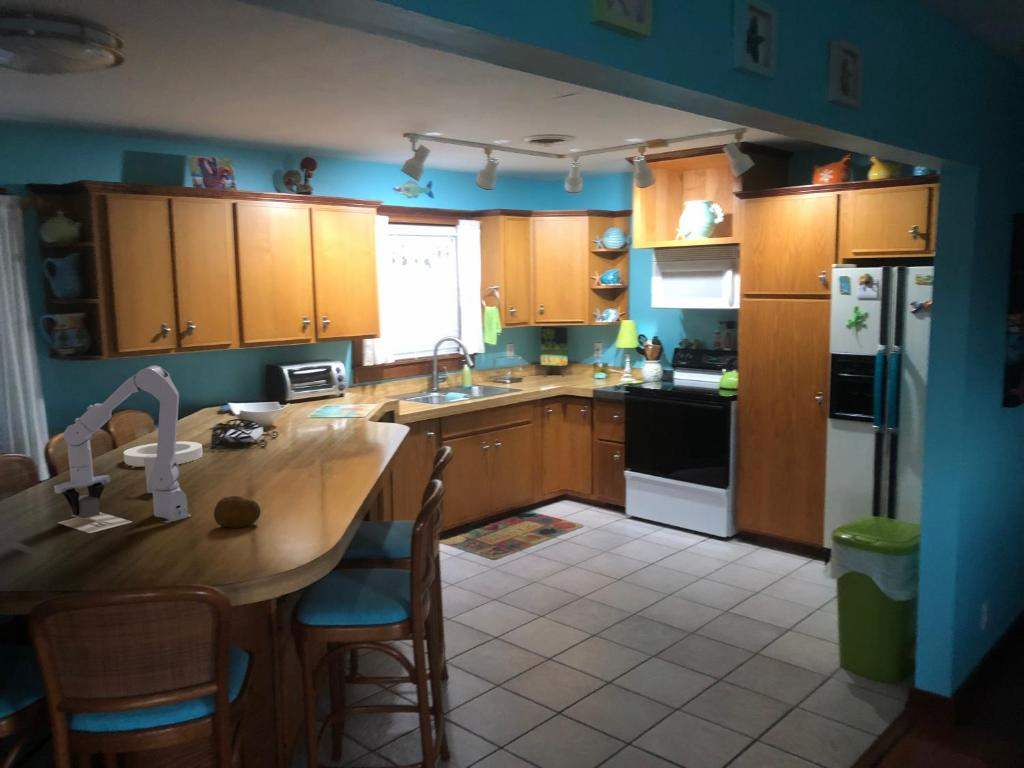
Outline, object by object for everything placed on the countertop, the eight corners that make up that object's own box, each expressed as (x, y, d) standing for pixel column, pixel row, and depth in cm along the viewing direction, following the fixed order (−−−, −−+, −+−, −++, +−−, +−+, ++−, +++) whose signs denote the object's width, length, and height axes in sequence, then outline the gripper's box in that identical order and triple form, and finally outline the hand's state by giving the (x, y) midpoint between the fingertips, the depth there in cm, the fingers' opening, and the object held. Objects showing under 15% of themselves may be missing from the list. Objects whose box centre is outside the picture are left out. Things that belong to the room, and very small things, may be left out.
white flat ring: (165, 471, 289) (164, 458, 288) (107, 466, 298) (106, 454, 298) (218, 455, 315) (217, 443, 314) (163, 451, 324) (162, 439, 324)
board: (133, 525, 221) (132, 521, 221) (90, 537, 211) (89, 533, 211) (99, 516, 231) (99, 511, 231) (57, 526, 222) (56, 522, 221)
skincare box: (170, 489, 260) (167, 453, 259) (165, 493, 256) (163, 456, 254) (151, 490, 260) (148, 454, 258) (146, 494, 255) (143, 457, 254)
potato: (252, 531, 214) (250, 500, 213) (209, 532, 214) (206, 501, 213) (262, 522, 223) (260, 492, 222) (220, 522, 223) (218, 492, 221)
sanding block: (99, 515, 224) (98, 498, 223) (83, 519, 220) (82, 502, 219) (87, 511, 228) (85, 494, 227) (71, 515, 224) (69, 498, 223)
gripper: (99, 458, 230) (103, 503, 232) (47, 469, 218) (51, 516, 220) (112, 461, 226) (116, 507, 228) (59, 472, 214) (64, 520, 216)
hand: (85, 512), depth 224 cm, fingers closed on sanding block, 4 cm apart
